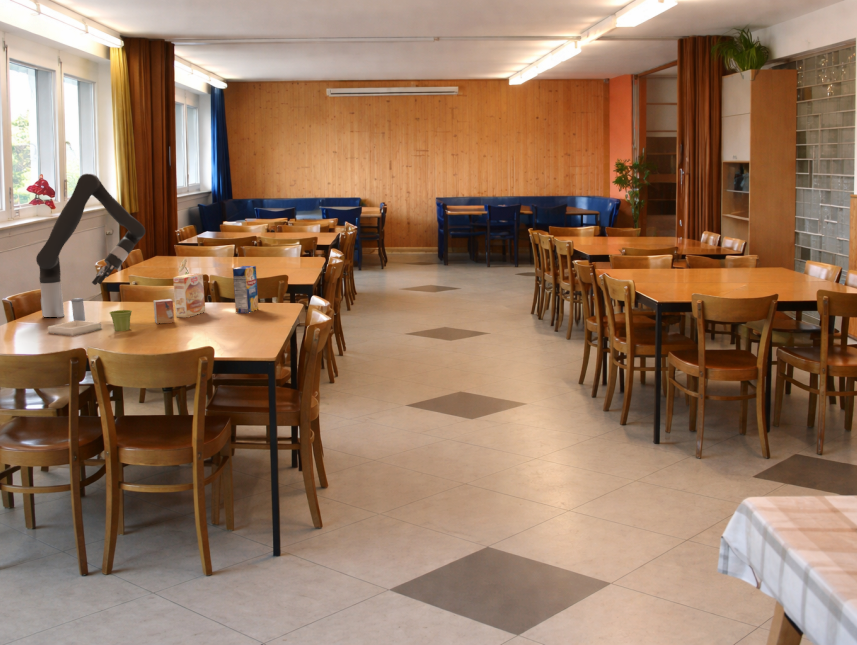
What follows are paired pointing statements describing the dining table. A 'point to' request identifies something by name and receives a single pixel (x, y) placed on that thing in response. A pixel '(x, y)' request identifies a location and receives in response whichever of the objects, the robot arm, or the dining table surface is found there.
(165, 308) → the small box
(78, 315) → the canister
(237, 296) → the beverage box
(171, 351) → the dining table surface
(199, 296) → the coffeecake box
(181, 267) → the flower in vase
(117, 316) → the plant pot
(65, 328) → the dish
